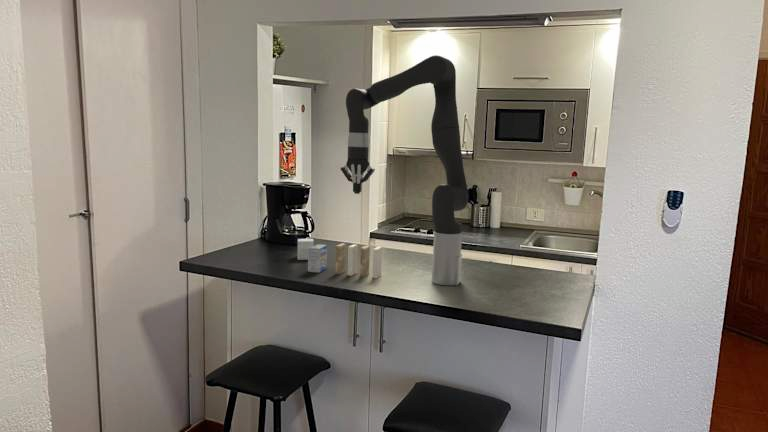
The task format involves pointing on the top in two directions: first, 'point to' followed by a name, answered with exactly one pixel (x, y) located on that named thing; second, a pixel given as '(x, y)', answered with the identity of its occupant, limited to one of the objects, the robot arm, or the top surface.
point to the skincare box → (304, 248)
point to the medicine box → (317, 258)
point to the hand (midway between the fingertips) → (357, 193)
